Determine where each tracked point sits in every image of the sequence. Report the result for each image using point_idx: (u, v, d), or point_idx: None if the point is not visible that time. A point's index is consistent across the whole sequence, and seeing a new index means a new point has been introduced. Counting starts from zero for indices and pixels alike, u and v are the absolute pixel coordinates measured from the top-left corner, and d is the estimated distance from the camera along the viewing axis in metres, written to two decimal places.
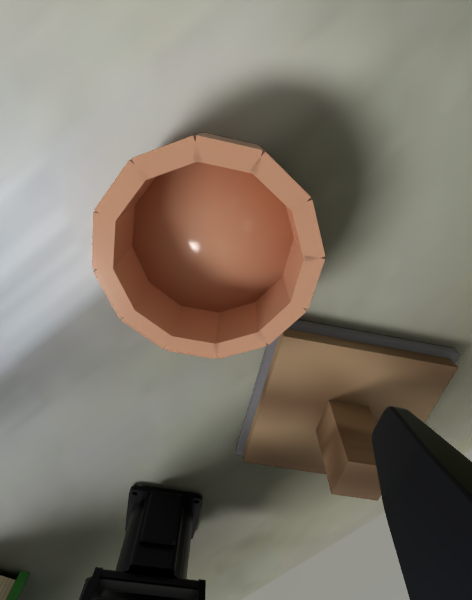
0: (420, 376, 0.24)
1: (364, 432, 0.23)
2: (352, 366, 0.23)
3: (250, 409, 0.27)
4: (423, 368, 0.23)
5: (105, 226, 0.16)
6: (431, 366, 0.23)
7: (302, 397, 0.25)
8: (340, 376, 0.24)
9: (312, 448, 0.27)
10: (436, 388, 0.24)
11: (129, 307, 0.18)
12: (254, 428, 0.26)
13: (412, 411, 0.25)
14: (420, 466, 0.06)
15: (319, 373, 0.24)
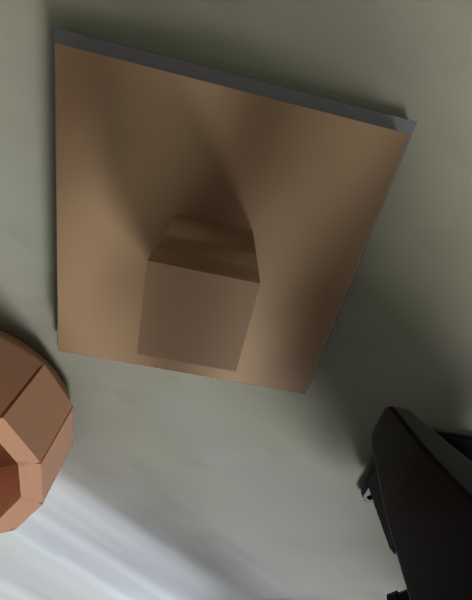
0: (92, 125, 0.12)
1: None
2: (91, 254, 0.14)
3: None
4: (72, 123, 0.12)
5: None
6: (64, 107, 0.12)
7: None
8: (114, 270, 0.15)
9: (281, 299, 0.15)
10: (116, 80, 0.12)
11: None
12: (233, 379, 0.17)
13: (183, 120, 0.12)
14: (420, 466, 0.06)
15: (113, 301, 0.15)
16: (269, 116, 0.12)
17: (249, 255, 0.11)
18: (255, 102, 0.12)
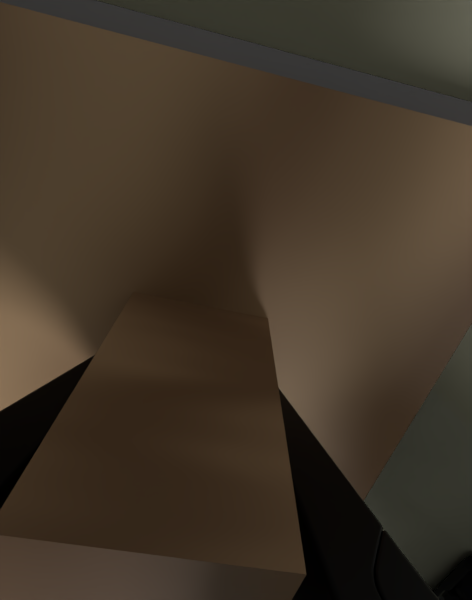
0: None
1: None
2: None
3: None
4: None
5: None
6: None
7: None
8: (34, 377, 0.09)
9: (312, 418, 0.09)
10: None
11: None
12: None
13: (137, 128, 0.06)
14: None
15: None
16: (305, 120, 0.06)
17: (267, 415, 0.05)
18: (277, 91, 0.06)
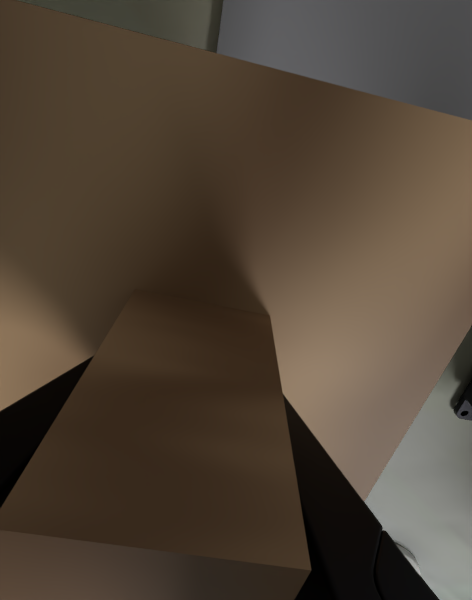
0: None
1: None
2: None
3: None
4: None
5: None
6: None
7: None
8: (36, 375, 0.09)
9: (314, 416, 0.09)
10: None
11: None
12: None
13: (139, 124, 0.06)
14: None
15: None
16: (308, 115, 0.06)
17: (270, 411, 0.05)
18: (280, 86, 0.06)
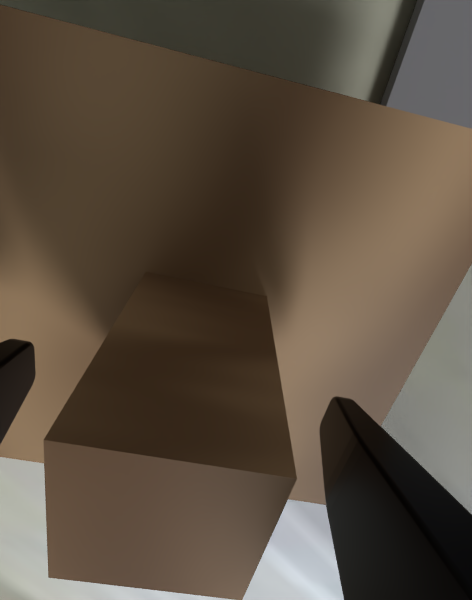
0: None
1: None
2: (16, 330, 0.09)
3: None
4: None
5: None
6: None
7: None
8: (54, 352, 0.10)
9: (307, 390, 0.10)
10: (28, 51, 0.06)
11: None
12: None
13: (151, 123, 0.07)
14: (354, 456, 0.06)
15: (56, 393, 0.10)
16: (299, 116, 0.07)
17: (266, 370, 0.06)
18: (275, 91, 0.07)
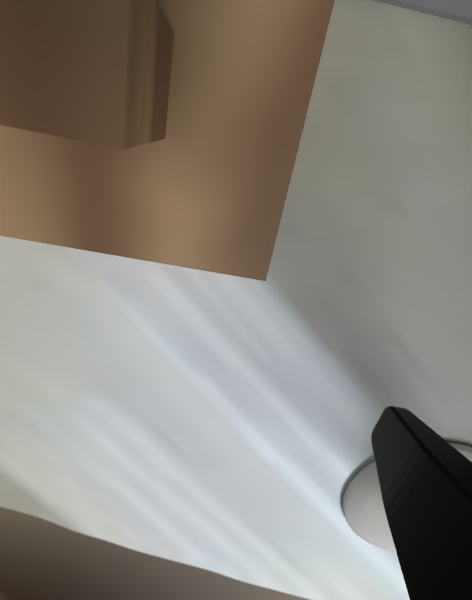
0: None
1: None
2: None
3: (468, 15, 0.14)
4: None
5: None
6: None
7: (79, 179, 0.12)
8: None
9: (222, 139, 0.12)
10: None
11: None
12: (175, 264, 0.14)
13: None
14: (420, 466, 0.06)
15: (11, 151, 0.12)
16: None
17: None
18: None
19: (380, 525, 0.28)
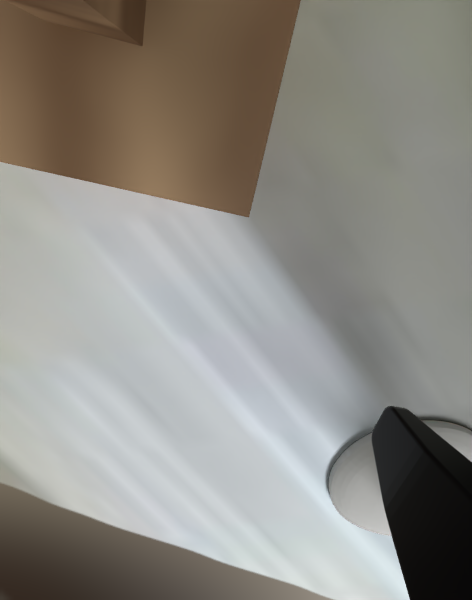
0: None
1: None
2: None
3: None
4: None
5: None
6: None
7: (50, 91, 0.12)
8: None
9: (204, 49, 0.11)
10: None
11: None
12: (153, 194, 0.13)
13: None
14: (420, 466, 0.06)
15: None
16: None
17: None
18: None
19: (365, 504, 0.27)
